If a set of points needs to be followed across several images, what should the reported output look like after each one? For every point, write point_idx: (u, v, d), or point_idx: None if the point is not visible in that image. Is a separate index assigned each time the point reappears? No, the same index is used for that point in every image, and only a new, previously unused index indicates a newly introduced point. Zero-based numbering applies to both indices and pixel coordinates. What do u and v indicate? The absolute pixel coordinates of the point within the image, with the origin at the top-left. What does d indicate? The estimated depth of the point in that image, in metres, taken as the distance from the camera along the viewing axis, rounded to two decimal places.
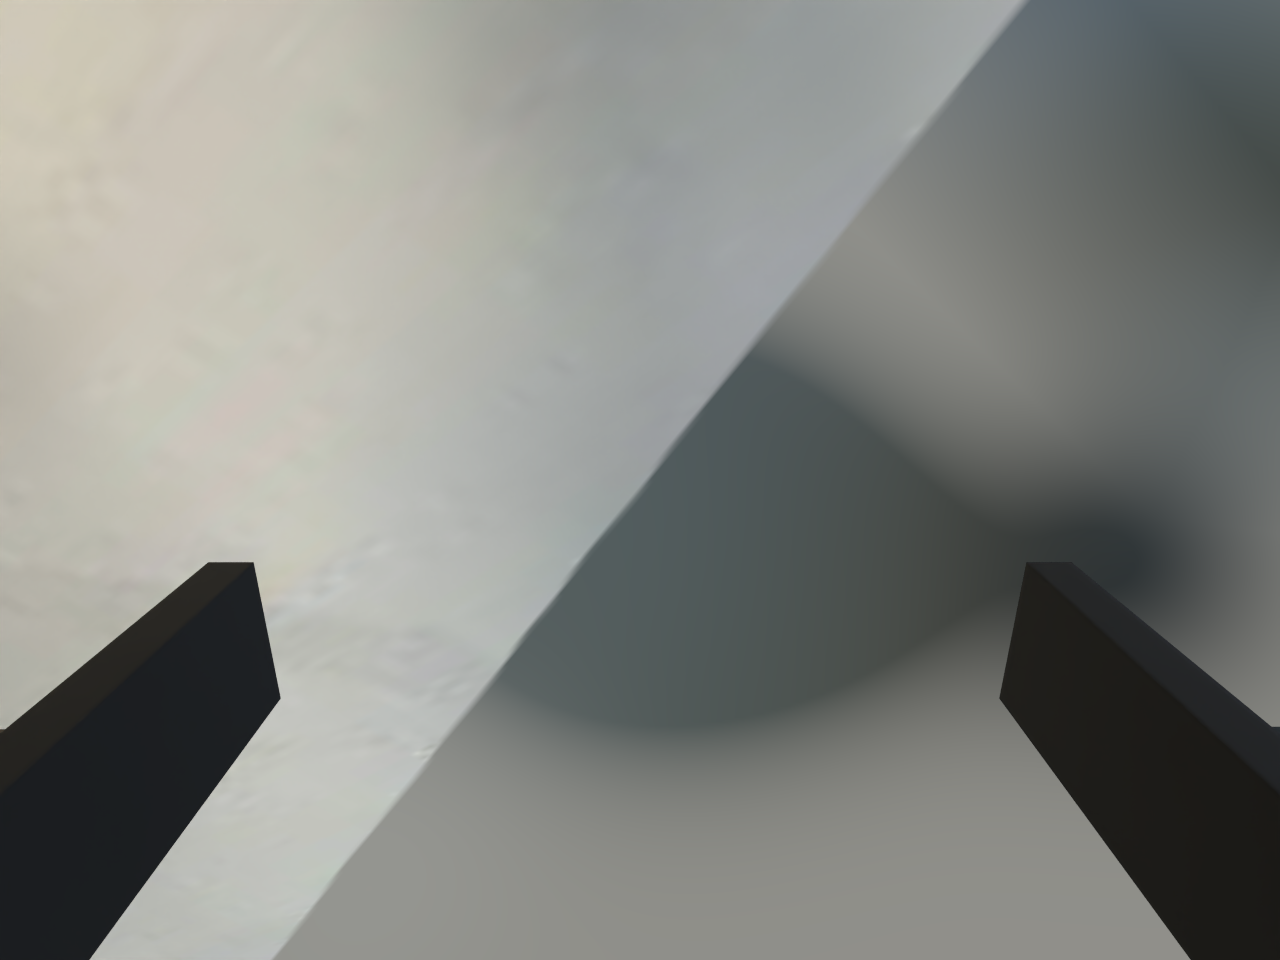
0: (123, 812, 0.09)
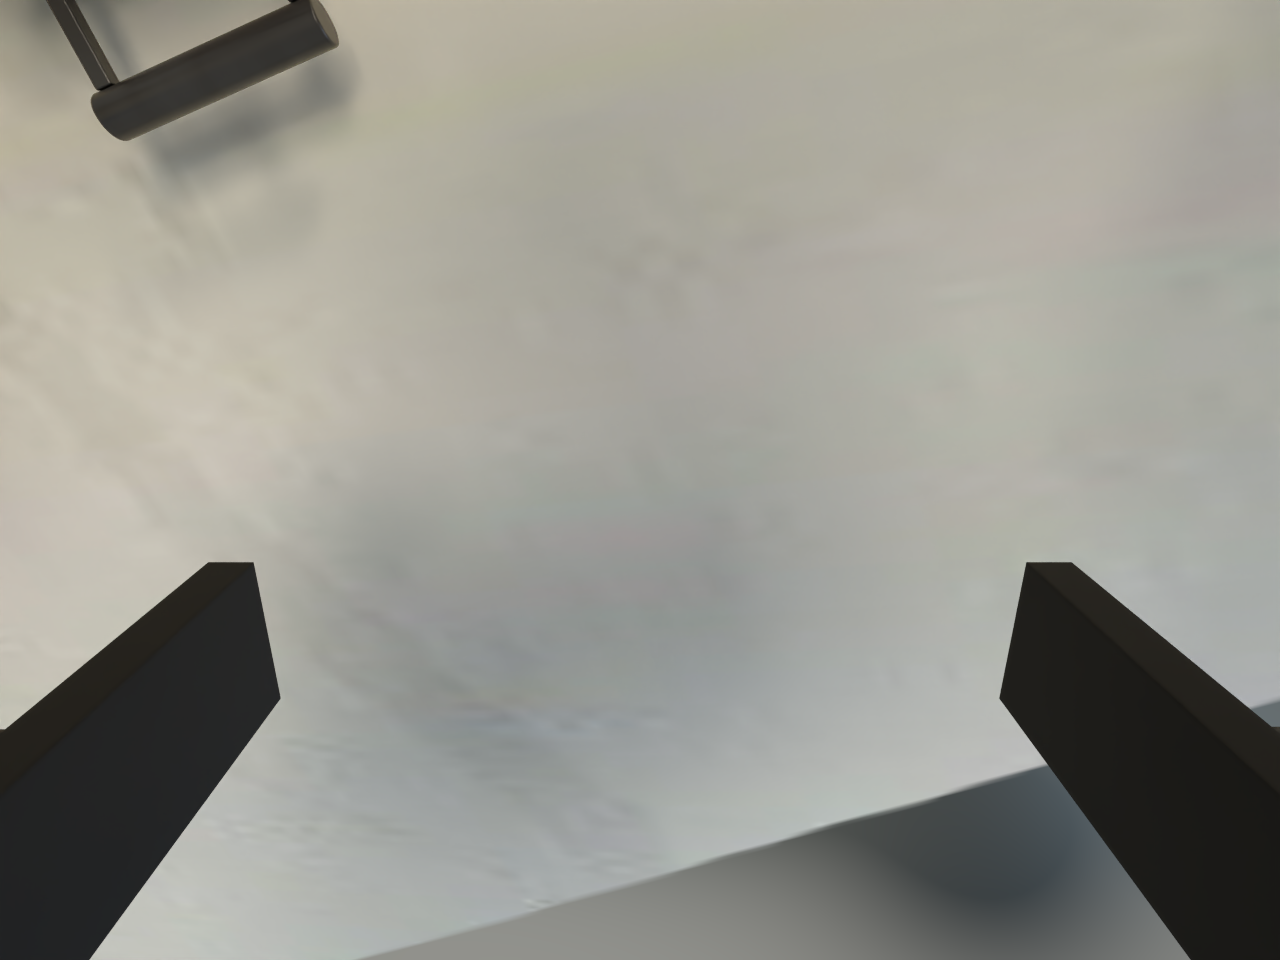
0: (124, 811, 0.09)
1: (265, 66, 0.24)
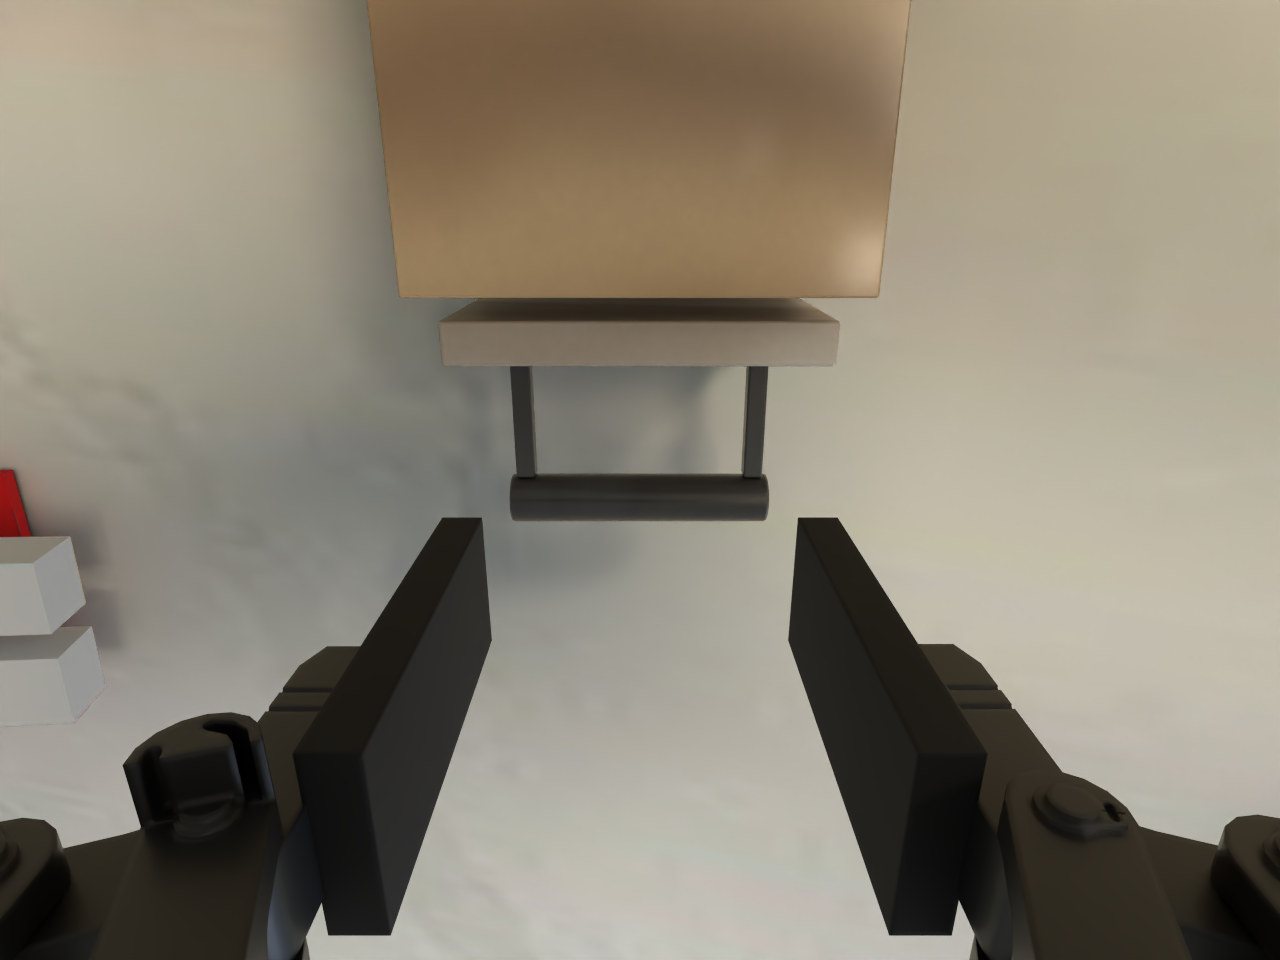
0: (437, 714, 0.11)
1: (694, 520, 0.24)
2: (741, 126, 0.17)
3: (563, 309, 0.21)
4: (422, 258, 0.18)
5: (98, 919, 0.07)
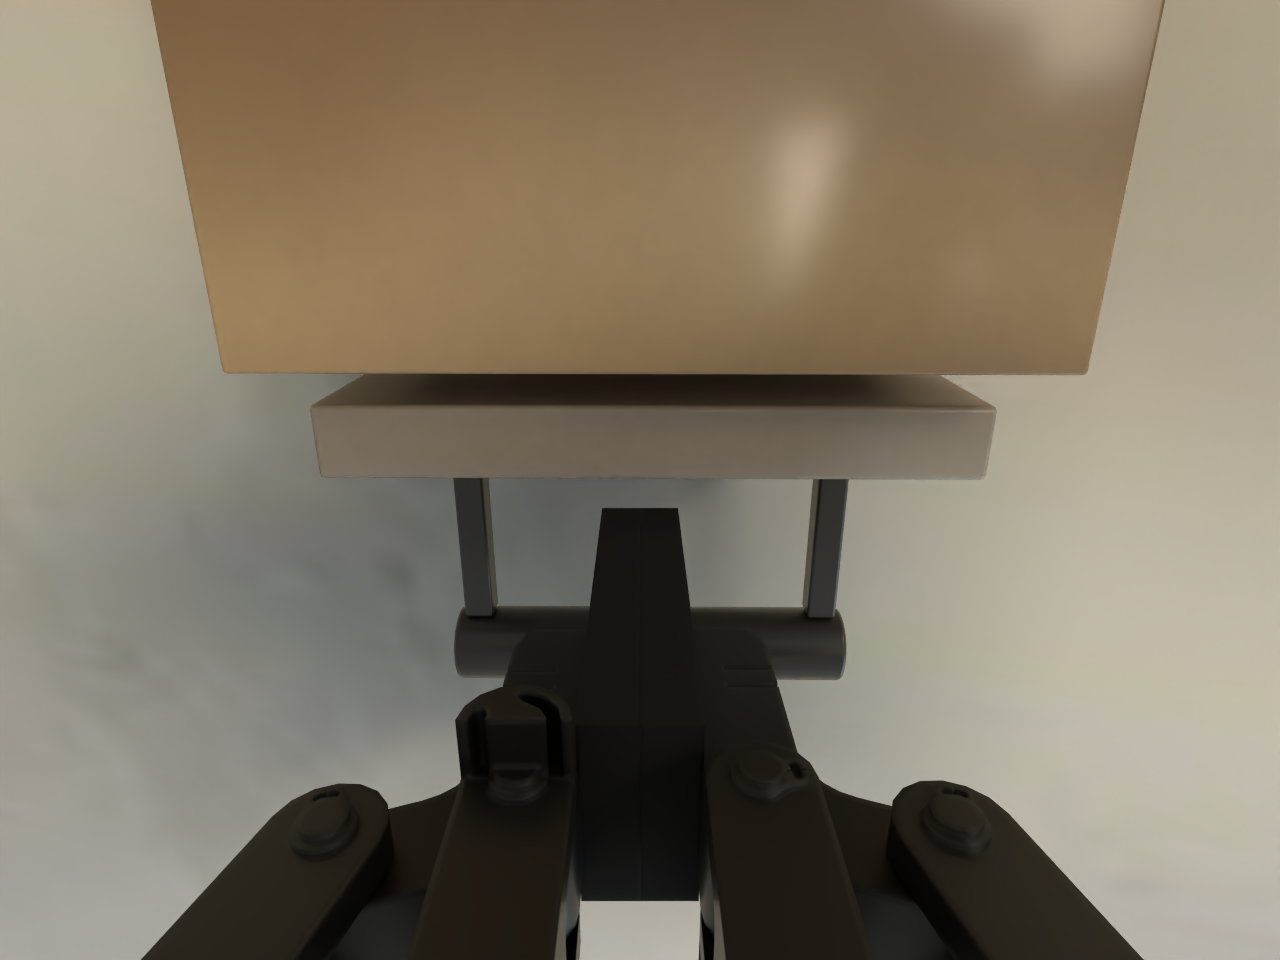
0: None
1: None
2: (851, 57, 0.09)
3: (530, 374, 0.13)
4: (258, 305, 0.10)
5: None
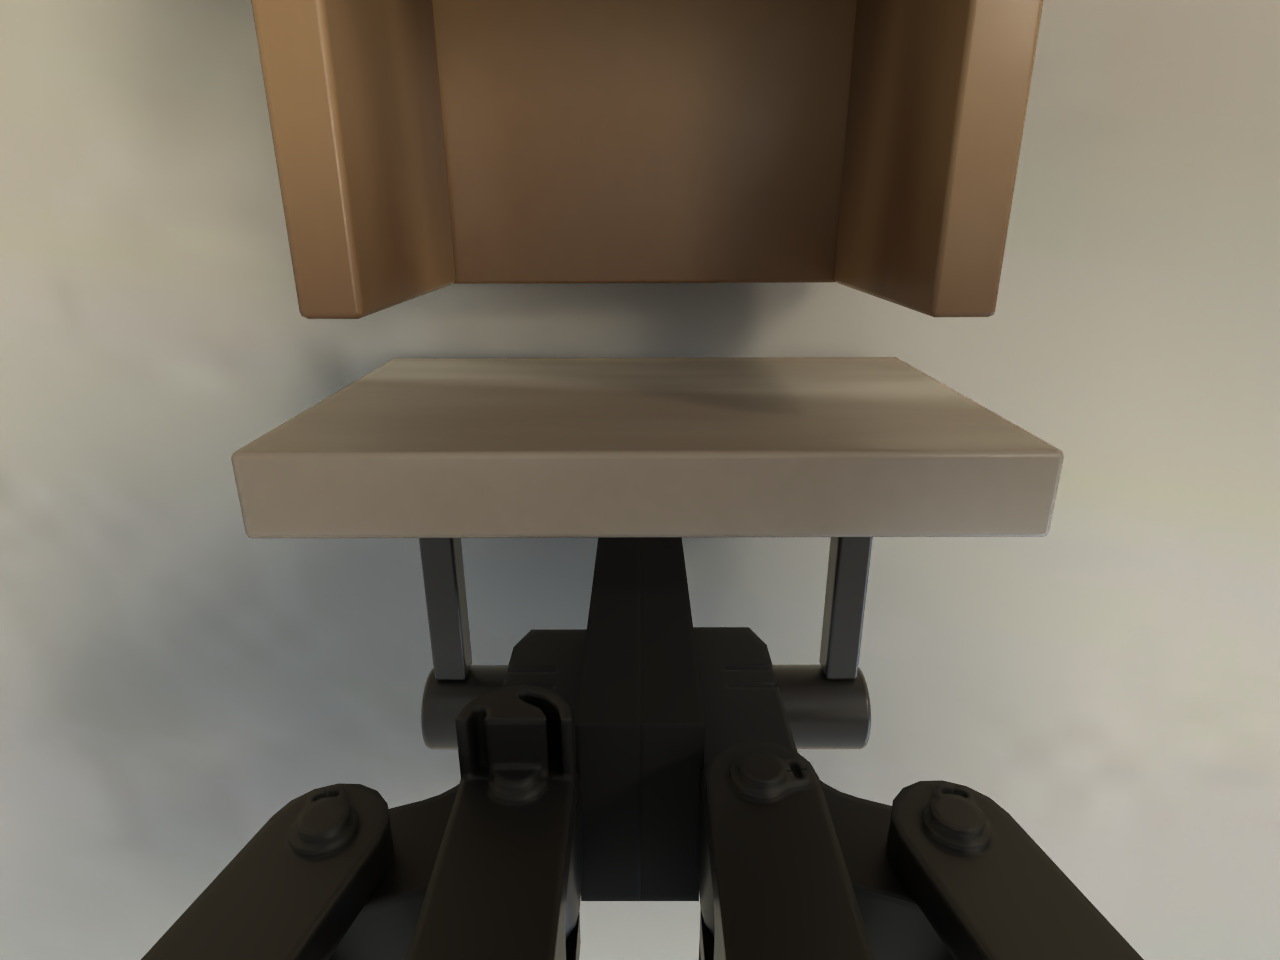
0: None
1: None
2: None
3: (503, 407, 0.11)
4: None
5: None
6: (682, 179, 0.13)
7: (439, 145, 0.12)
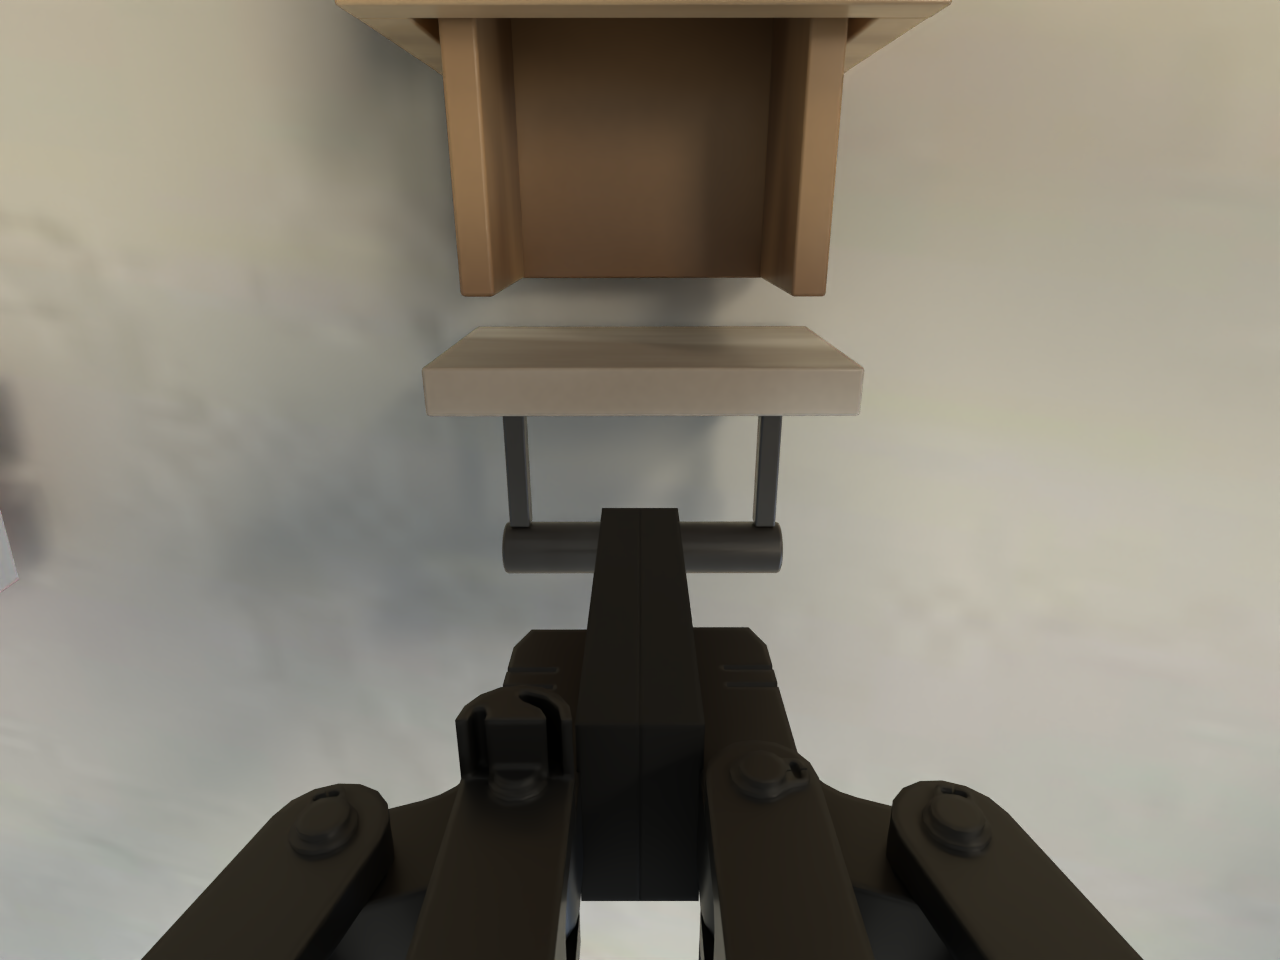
0: None
1: (701, 572, 0.22)
2: None
3: (559, 350, 0.20)
4: None
5: None
6: (665, 214, 0.21)
7: (518, 194, 0.21)
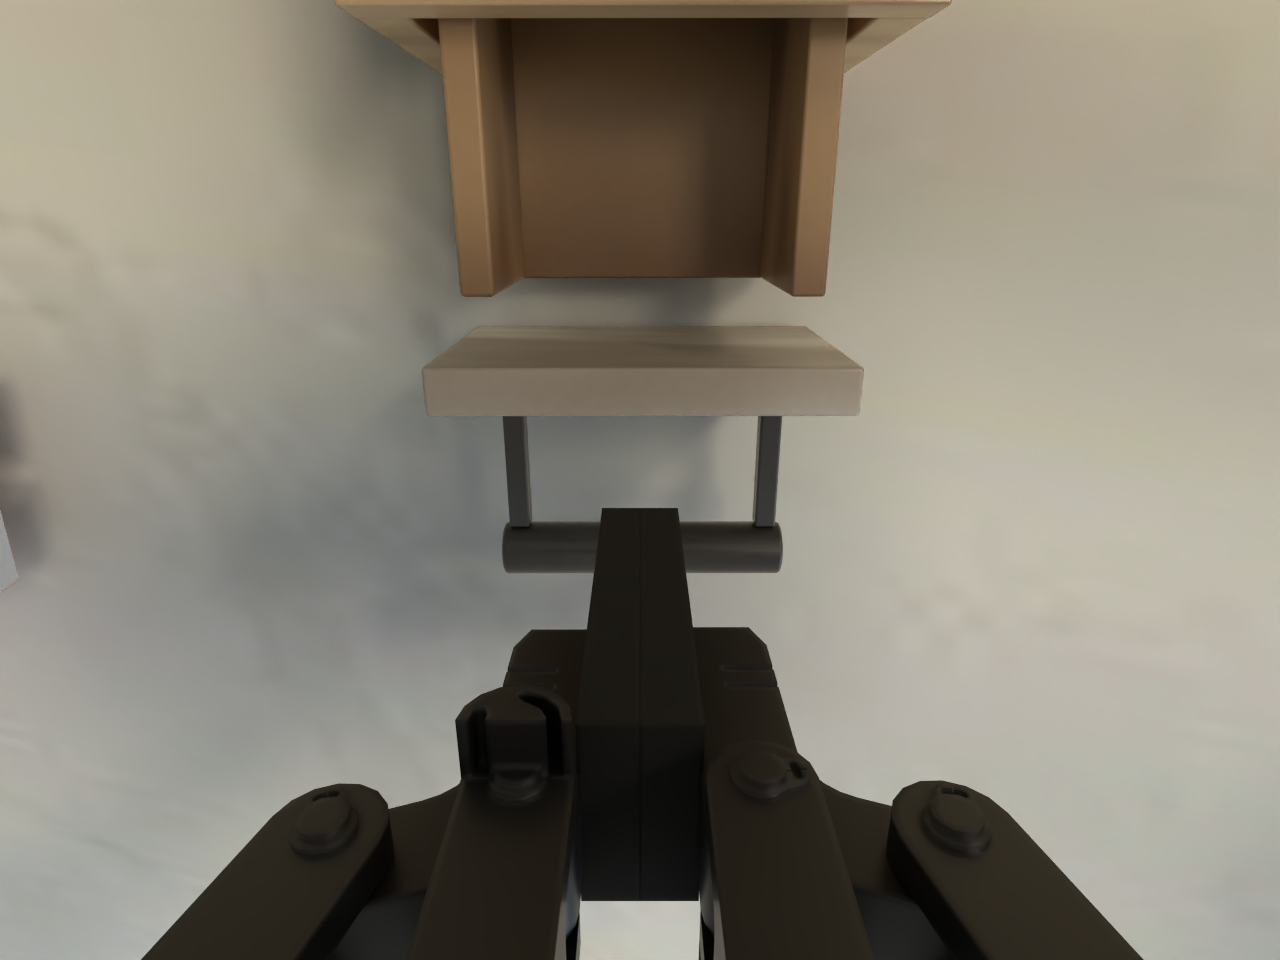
0: None
1: (701, 572, 0.22)
2: None
3: (559, 350, 0.20)
4: None
5: None
6: (665, 214, 0.21)
7: (518, 194, 0.21)
